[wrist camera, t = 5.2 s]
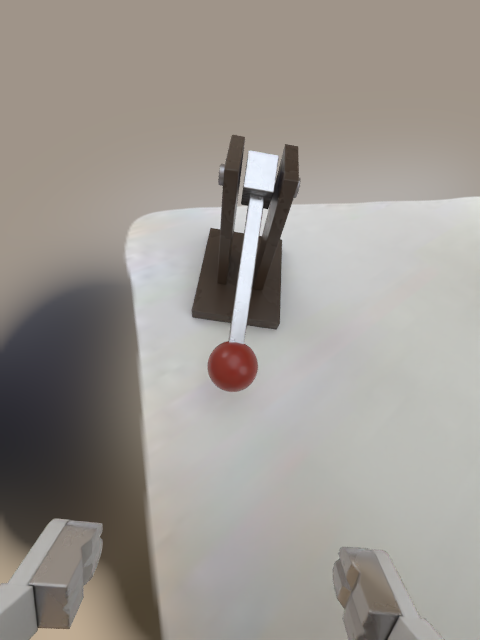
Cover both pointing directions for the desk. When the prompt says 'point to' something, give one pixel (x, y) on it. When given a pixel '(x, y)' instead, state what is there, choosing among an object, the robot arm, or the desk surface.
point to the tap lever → (245, 279)
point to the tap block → (227, 245)
